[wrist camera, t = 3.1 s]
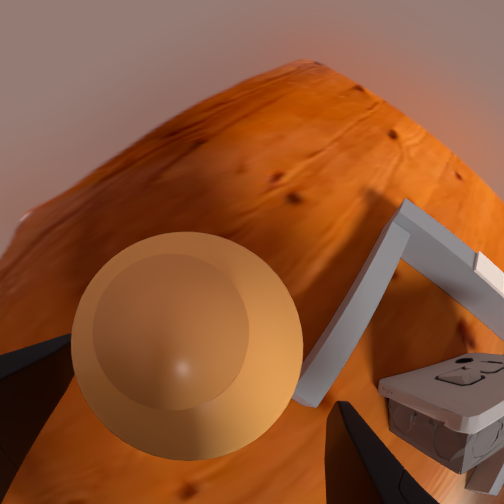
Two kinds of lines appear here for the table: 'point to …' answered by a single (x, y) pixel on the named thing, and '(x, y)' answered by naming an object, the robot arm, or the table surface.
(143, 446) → the pin
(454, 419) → the electrical switch
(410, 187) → the table surface
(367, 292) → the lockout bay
